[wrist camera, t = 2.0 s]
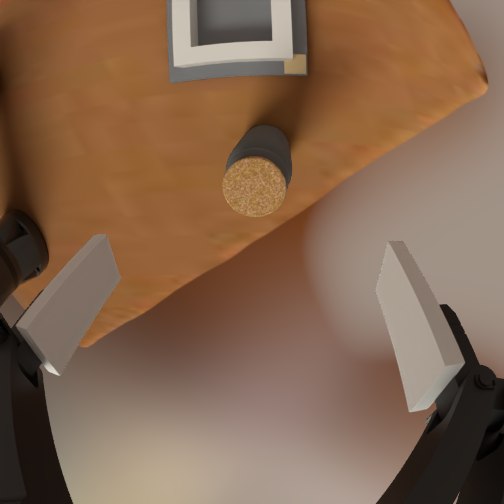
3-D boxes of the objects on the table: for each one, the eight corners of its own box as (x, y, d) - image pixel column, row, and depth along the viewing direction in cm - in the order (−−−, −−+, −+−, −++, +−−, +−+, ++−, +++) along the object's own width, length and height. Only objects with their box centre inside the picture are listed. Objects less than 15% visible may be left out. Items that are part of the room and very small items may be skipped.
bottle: (232, 138, 33) (199, 173, 20) (275, 116, 31) (270, 135, 18) (255, 177, 35) (239, 235, 23) (297, 157, 33) (307, 205, 21)
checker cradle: (172, 83, 29) (160, 83, 26) (170, -24, 21) (157, -33, 17) (307, 76, 28) (310, 74, 24) (301, -36, 19) (303, -48, 16)
